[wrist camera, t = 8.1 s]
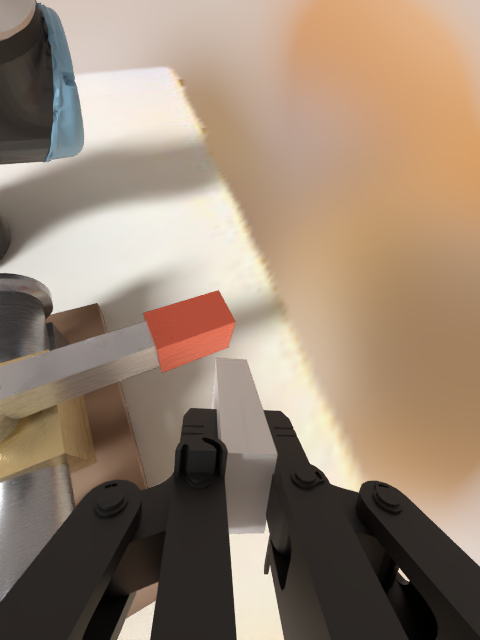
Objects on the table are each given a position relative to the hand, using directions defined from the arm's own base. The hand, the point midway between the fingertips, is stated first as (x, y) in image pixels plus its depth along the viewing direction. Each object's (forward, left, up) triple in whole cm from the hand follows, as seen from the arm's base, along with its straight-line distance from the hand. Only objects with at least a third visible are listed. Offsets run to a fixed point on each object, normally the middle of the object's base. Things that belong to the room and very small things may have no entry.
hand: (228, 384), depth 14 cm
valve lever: (-5, -6, -6) cm, 10 cm away
